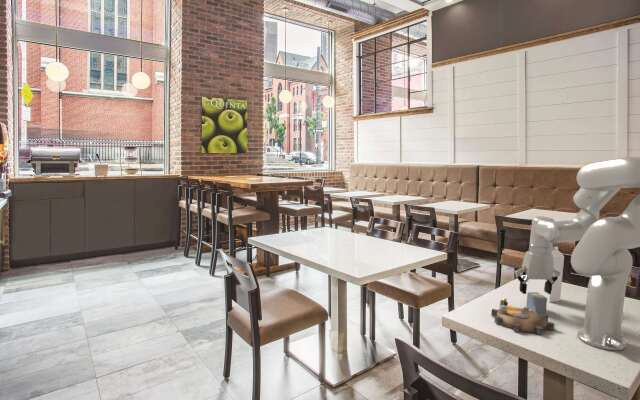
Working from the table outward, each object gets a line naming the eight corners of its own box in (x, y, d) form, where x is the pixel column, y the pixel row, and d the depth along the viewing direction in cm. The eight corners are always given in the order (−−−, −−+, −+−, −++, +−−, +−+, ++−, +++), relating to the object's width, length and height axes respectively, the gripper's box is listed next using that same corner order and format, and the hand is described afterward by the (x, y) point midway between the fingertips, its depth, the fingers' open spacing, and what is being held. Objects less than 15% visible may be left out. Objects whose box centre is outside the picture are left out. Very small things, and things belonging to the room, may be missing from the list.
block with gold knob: (507, 310, 149) (508, 299, 148) (503, 310, 149) (504, 299, 148) (504, 307, 151) (504, 296, 150) (500, 307, 151) (500, 296, 150)
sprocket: (556, 319, 140) (557, 307, 139) (549, 340, 124) (551, 326, 123) (497, 306, 151) (498, 295, 151) (485, 323, 136) (485, 311, 135)
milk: (536, 297, 162) (540, 245, 160) (547, 295, 164) (551, 244, 162) (549, 302, 157) (554, 249, 154) (560, 301, 159) (565, 248, 156)
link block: (545, 313, 146) (547, 297, 146) (535, 313, 146) (536, 297, 145) (536, 307, 152) (537, 292, 151) (526, 307, 152) (527, 292, 151)
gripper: (556, 247, 151) (550, 289, 153) (512, 246, 150) (508, 288, 153) (569, 252, 143) (563, 296, 146) (523, 252, 142) (518, 296, 145)
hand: (535, 292), depth 149 cm, fingers open, 9 cm apart
